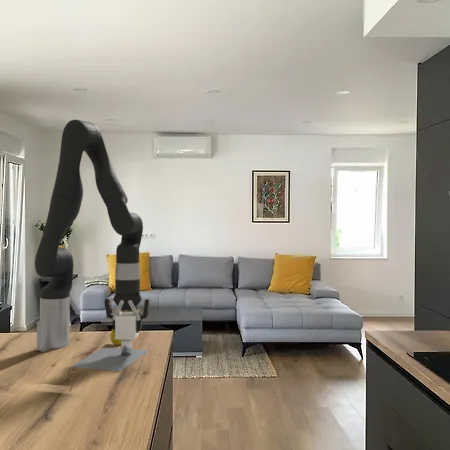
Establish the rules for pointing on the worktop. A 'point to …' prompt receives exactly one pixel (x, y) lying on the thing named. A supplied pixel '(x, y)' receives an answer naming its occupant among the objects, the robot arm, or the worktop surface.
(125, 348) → the silver metal capsule
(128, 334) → the duct collar
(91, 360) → the duct base
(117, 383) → the worktop surface
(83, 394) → the worktop surface
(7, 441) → the worktop surface
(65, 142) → the robot arm
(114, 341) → the lemon
